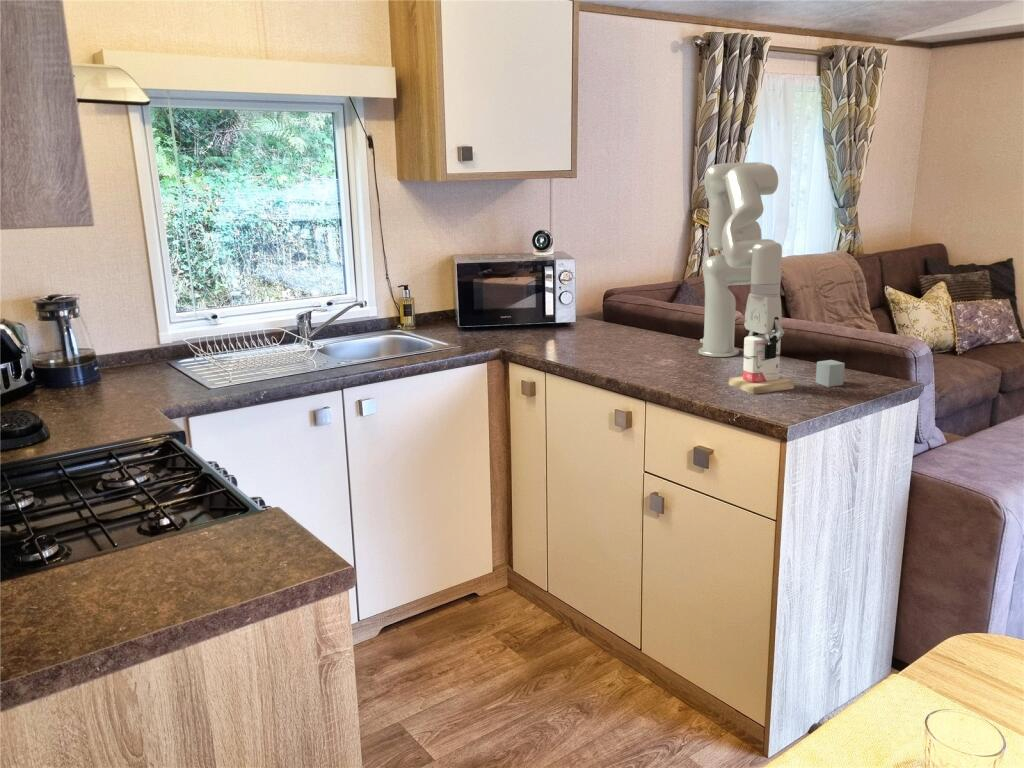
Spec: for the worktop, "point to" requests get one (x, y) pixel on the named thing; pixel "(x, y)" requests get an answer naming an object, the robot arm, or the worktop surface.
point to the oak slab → (761, 385)
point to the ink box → (759, 360)
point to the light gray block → (830, 373)
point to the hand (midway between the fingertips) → (762, 355)
